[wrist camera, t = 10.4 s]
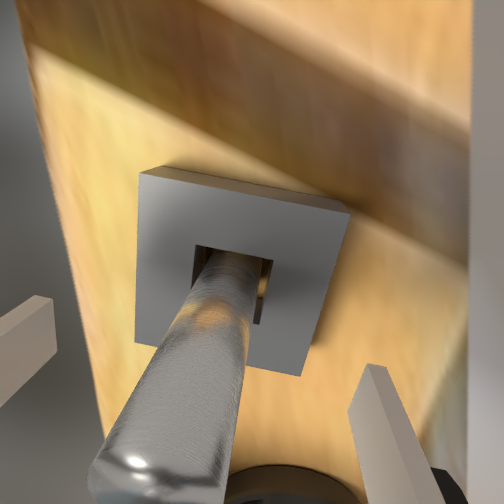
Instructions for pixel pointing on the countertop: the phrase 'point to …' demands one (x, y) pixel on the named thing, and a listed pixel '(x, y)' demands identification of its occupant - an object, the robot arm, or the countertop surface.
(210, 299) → the steel peg
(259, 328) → the socket block
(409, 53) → the countertop surface
